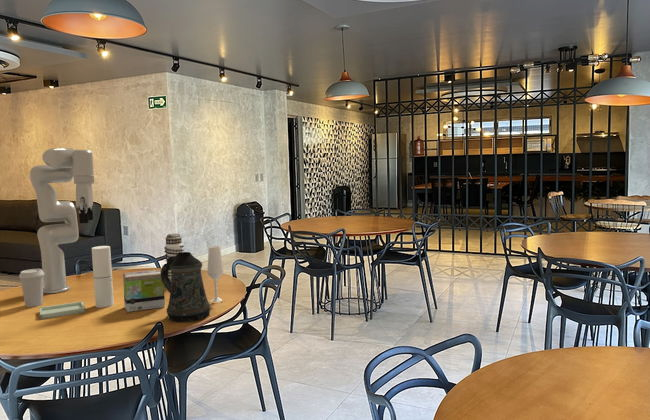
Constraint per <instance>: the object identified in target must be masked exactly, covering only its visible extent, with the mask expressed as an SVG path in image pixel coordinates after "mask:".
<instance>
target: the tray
mask: <svg viewBox="0 0 650 420" xmlns="http://www.w3.org/2000/svg"><path fill="white" fill-rule="evenodd" d="M84 313H86V306H85V304H84V301H83V300H82V301H75V302H68V303H61V304H60V303H59V304H56V305H54V304H53V305H47V306H41V307H39V315H40V316H39V317H40V318H39V319H40V320H44V319H46V320H47V319H51V318H52V319H53V318H59V317H64V316H71V315H77V314H84Z"/></svg>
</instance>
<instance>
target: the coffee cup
mask: <svg viewBox="0 0 650 420" xmlns="http://www.w3.org/2000/svg"><path fill="white" fill-rule="evenodd" d="M43 275H44V272H43V270H42V268H32V269H25V270H22V271H20V273H19V275H18V278H20V285H21V289H22V295H23V301H24V305H25V308H36V307H39V306H42V305H43V302H44V293H43V288H44V283H43Z"/></svg>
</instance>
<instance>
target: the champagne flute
mask: <svg viewBox="0 0 650 420" xmlns="http://www.w3.org/2000/svg"><path fill="white" fill-rule="evenodd" d="M206 273H207V275H208V276H209V277H210V278H211V279H212V280H213V281H214V297H213V298H211V299H210V301H211V302H220V301H222V299H223V298H220V297H219V294H218V279H220V278H221V277H222V276H223V274H224V265H223V259H222V251H221V246H220V245H210V246H208V256H207V271H206Z"/></svg>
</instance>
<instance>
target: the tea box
mask: <svg viewBox="0 0 650 420" xmlns="http://www.w3.org/2000/svg"><path fill="white" fill-rule="evenodd" d="M122 274H123V275H122V277H123V278H122V281H123V283H122V284H123V301H124V302H123V303H124V305H123V306H124V308H125V311H126V313H130V312H135V311H136V312H137V311H143V310H144V311H145V310H152V309H161V307H164V308H165V303H166V301H165V298H166V297H165V286H164V284H163V282H162V279H161V269H151V270H140V271H132V272H131V271H130V272H123V273H122Z"/></svg>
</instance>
